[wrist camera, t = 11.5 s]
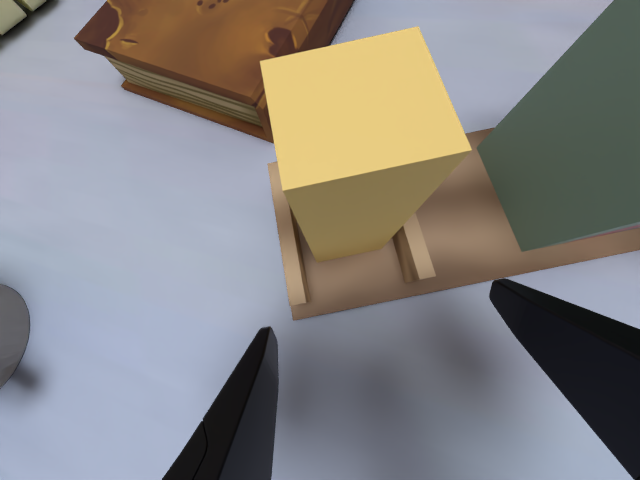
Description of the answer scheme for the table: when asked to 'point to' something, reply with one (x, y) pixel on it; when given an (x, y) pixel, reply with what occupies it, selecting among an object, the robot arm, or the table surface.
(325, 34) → the diary
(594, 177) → the book row
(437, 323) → the table surface
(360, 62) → the pale yellow cuboid
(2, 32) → the slatted curved stool
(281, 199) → the shelf slot board
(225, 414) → the robot arm
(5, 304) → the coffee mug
